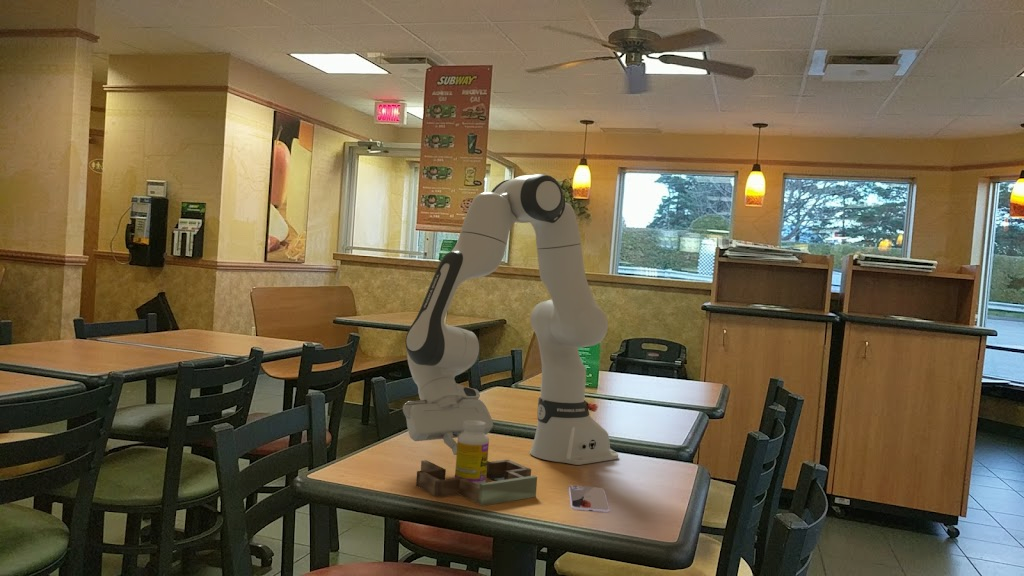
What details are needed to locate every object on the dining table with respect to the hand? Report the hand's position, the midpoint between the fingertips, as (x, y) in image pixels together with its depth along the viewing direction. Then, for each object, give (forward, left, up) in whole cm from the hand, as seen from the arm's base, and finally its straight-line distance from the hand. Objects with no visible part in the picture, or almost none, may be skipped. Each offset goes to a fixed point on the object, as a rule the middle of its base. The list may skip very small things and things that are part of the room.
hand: (461, 453), depth 156 cm
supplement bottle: (-1, +4, -6) cm, 7 cm away
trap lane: (-1, +6, -5) cm, 8 cm away
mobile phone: (-20, +20, -6) cm, 29 cm away
